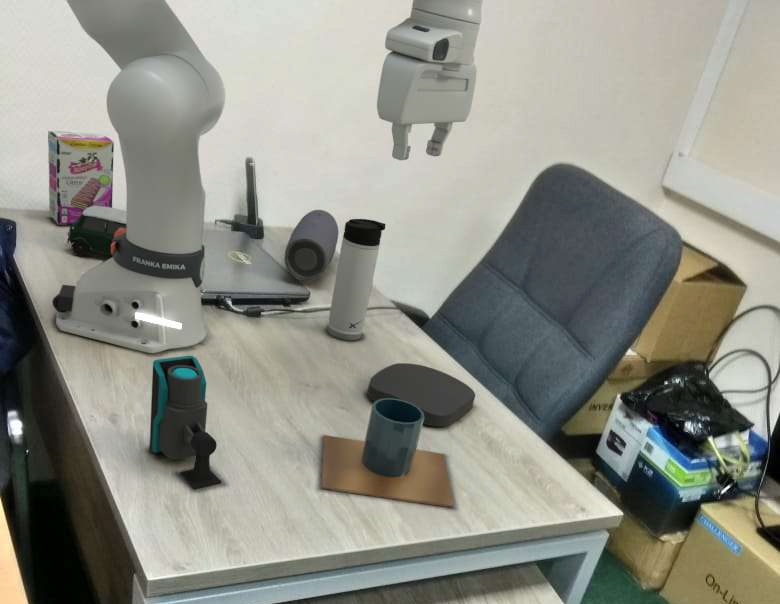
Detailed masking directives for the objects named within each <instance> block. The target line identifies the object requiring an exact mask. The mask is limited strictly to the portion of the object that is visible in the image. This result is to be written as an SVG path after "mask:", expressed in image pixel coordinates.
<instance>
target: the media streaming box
mask: <svg viewBox="0 0 780 604" xmlns="http://www.w3.org/2000/svg"><path fill="white" fill-rule="evenodd" d="M367 396H368V398H369V399H371V401H373V402H375V401H376V400H379V399H383V398H394V399H400V400H404V401H407V402H410V403H412V404H414V405H416V406H417V407H419V408H420V409H421V410H422V411H423V413H424V421H423V425H426V426H427V425H428V426H432V427H446V426H450V425H451V424H453V423H455V422H456V421H457V420H459V419H460V418H462V417H463V416H464V415H466V413H468V412H469V411H470V410H471V409H472V408H473V405H474V402H475V398H476V393H475V391H474V390H473V389H472V388H471V387H470V385H468V384H466V383H465V382H463V381H461V380H460V379H458V378H457V377H454V376H452V375H450V374H448V373H445V372H443V371H441V370H438V369H435V368H433V367H429V366H426V365H422V364H416V363H407V362H406V363H405V362H398V363H393V364H391V365H388V366H385V367H384V368H382V369H381V370H379V371H377V372H376V373H375V374H374V375H373V376H372V377H370V380H369V384H368V389H367Z"/></svg>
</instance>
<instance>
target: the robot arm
mask: <svg viewBox="0 0 780 604" xmlns="http://www.w3.org/2000/svg"><path fill="white" fill-rule="evenodd" d="M65 1H66V3H68V6H69V8H70V9H71V11H72V13H73V14H74V16H75V18H76V19H77V22H78V23H79V25H80V27H81V28H82V29H83V31H84V32H85V34H87V36H89V37H90V38H91V39H92V40H93V41H94V42H96V43H97V44H98V46H100V48H102V49H103V50H104V51H105V53H106V54H107V55H108V56H109V57H110V59H112V61H113V62H114V63H115V64H116V66H117V67H118V68H119V69H120V71H119V72H118V74H116V76H115V77H114V78H113V80H112V81H111V82H110V85H109V87H108V89H107V95H106V111H107V115H108V119H109V121H110V123H111V125H112V127H113V129H114V130H115V132H116V134H117V136H118V140H119V146H120V150H121V151H120V152H121V156H122V161H123V167H124V175H125V183H126V184H125V185H126V209H125V211H126V229H125V228H119V229H118V230H117V231H116V232H115V234H114V238H113V240H112V244H111V253H112V255H111V257H110V258H108V259H106V260H105V261H103V262H101V263H99V264H98V265H96V266H93V267H92V268H91V269H89V270H87V271H86V272H84V273H83V274H82V275H81V276H80V278H79V279H78V280H77V283H76V284H75V285H71V284H70V285H69V284H62V286H61V288H60V291H59V292H58V294H57V295H55V296H54V297H53V299H52V301H51V302H52V307H53V308H54V309H55V310H56V311H57V312H56V319H55V324H56V326H57V328H58V329H59V331H62V332H65V333H69V334H72V335H76V336H81V337H84V338H88V339H93V340H95V341H96V340H97V341H100V342H104V343H108V344H112V345H116V346H120V347H123V348H127V349H131V350H136V351H139V352H143V353H147V354H156V353H160V352H164V351H166V350H173V349H180V348H181V349H182V348H188V347H192V346H195V345H198V344H199V343H202V342H203V341H204V340H205V338H206V336H207V329H206V325H205V321H204V316H203V306H202V289H201V288H202V286H201V285H202V283H203V281H204V277H205V266H206V265H205V263H206V255H205V252H206V251H205V246H204V244H203V240H204V239H203V237H204V225H205V213H206V212H205V211H206V209H205V208H206V196H207V195H206V190H205V188H204V186H203V183H202V175H201V167H200V158H199V157H200V156H199V145H200V139H201V137H202V136H203V135H204V136H205V134H207V133H209V132H210V131H211V130H212V129H214V128H215V126H216V125H217V123H218V122H219V121H220V118H221V116H222V113H223V111H224V108H225V103H226V89H225V85H224V82H223V78H222V77H221V74H220V73H219V72H218V70H217V69H216V68H215V67H214V65H212V64H211V62H210V61H208V59H206V57H205V56H204V54H203V52H202V51H201V49H200V48H199V46H198V45H197V43H196V42H195V41H194V39H193V38H192V36H191V35H190V33H189V32H188V30H187V29H186V27H185V26H184V25H183V23H182V22H181V20H180V19H179V18H178V16H177V14H176V13H175V12H174V11H173V10H172V8H171V7H170V5H169V3H168V2H167V1H166V0H65ZM482 5H483V0H412V5H411V11H410V16H409V17H407V18H405V19H404V20H403V21H402V22H400V23H399V24H397V25H395V26H394V27H393V26H392V27H391V28H390V29H389V30H388V31H387V32H386V36H385V41H384V47H385V50H387V51H390V52H388V53H387V55H386V56H385V58H384V61H383V64H382V68H381V74H380V79H379V86H378V92H377V99H376V100H377V101H376V112H377V115H378V118H379V119H380V120H382V121H386V122H389V123H391V135H392V142H393V145H392V146H393V148H392V152H391V157H392V158H393V159H394V160H398V161H406V160H408V159H409V157H410V152H411V145H409V134H410V133H411V132H412V129H413V125H426V124H433V127H434V130H433V132H432V135H431V138H430V139H428V140H427V144H426V148H425V153H426V154H427V155H428V156H432V157H440V156H441V155H442V153H443V148H444V144H445V143H446V140H447V139H448V137H449V136H450V133H451V132H452V129H453V123H463V122H464V123H465V122H466V121H467V119H468V117H469V116H470V114H471V113H470V112H471V110H472V105H473V99H474V94H475V88H476V81H477V66H476V64H475V56H474V54H475V49H476V45H477V40H478V36H479V33H480V32H479V31H480V27H481V23H482Z"/></svg>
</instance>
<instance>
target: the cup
mask: <svg viewBox="0 0 780 604" xmlns="http://www.w3.org/2000/svg"><path fill="white" fill-rule="evenodd" d="M423 421H424V413H423V411H422V410H421V409H420V408H419V407H417V406H416V405H414V404H412V403H410V402H407V401H404V400H400V399H394V398H383V399H379V400H376V401H373V403H372V406H371V410H370V415H369V419H368V424H367V429H366V434H365V436H364V437H365V439H364V447H363V451H362V463H363V464H364V466H365V467H366V468H368V469H369V470H371V471H372V472H374V473H377V474H380V475H383V476H389V477H399V476H403V475H406V474H407V473H409V471H410V470H411V466H412V464H413V460H414V456H415V452H416V450H417V448H418V445H419V440H420V437H421V433H422V429H423V425H424V423H423Z"/></svg>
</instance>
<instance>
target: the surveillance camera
mask: <svg viewBox="0 0 780 604" xmlns="http://www.w3.org/2000/svg"><path fill="white" fill-rule="evenodd" d="M206 392H207V381H206V376H205V373H204V370H203V368H202V366H201V364H200V362H199V360H198V359H197V358H196V357H195V356H193V355H183V356H176V357H175V356H174V357H167V358H158V359H157V358H156V359H154V360H153V362H152V379H151V401H150V402H151V403H150V404H151V405H150V429H149V451H151V452H153V453H156V454H157V453H163V454H164V455H165V456H166V457H167V458H169V459H171V460H181V459H186V458H190V457H191V458H192V457H195V458H194V465H193V468H192V469H189V470H184V471H180V472H179V474H180V476H181V477H183V479H184V480H185V481H186V483H188V484H189V485H190V486H191V487H192V488H193V489H194V490H197V489H203V488H206V487H210V486H211V487H212V486H215V485H218V484H222V480H221V479H220V478H219V477H218V476H217V475H216V474H215V473H214V471H212V470H211V467H210V465H211V464H210V458H211V457H210V456H211V455H213V453H215V451H216V449H217V446H218V444H217V441H216V439H215V438H214V437H213V436H212V435H211V434H209V433H208V432H207V431H206V427H207V426H206V425H207V415H208V402H207V401H206Z"/></svg>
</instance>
